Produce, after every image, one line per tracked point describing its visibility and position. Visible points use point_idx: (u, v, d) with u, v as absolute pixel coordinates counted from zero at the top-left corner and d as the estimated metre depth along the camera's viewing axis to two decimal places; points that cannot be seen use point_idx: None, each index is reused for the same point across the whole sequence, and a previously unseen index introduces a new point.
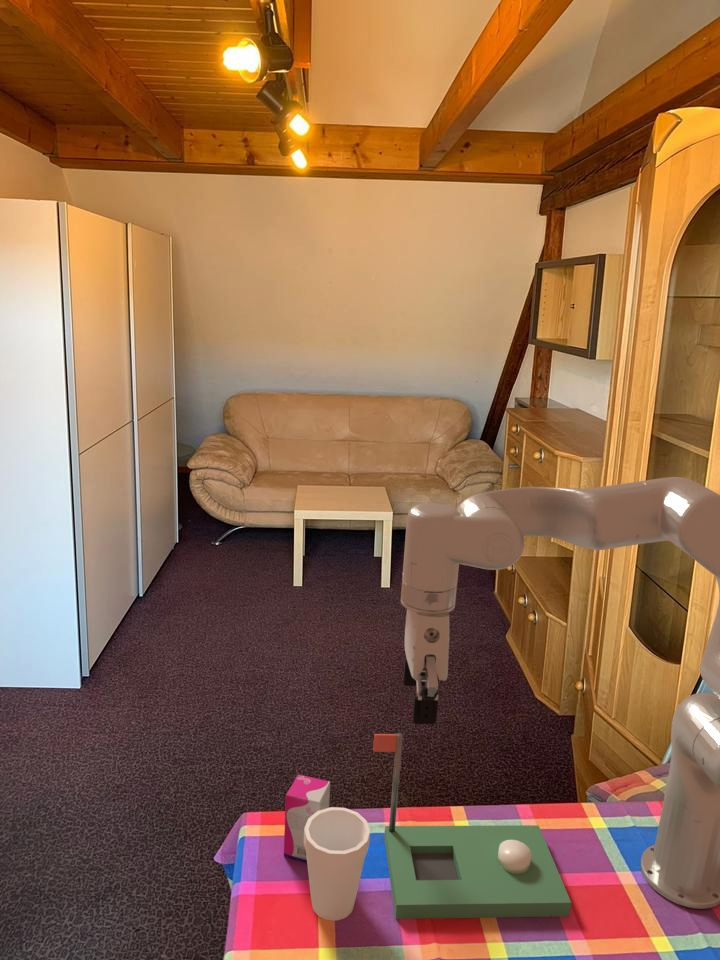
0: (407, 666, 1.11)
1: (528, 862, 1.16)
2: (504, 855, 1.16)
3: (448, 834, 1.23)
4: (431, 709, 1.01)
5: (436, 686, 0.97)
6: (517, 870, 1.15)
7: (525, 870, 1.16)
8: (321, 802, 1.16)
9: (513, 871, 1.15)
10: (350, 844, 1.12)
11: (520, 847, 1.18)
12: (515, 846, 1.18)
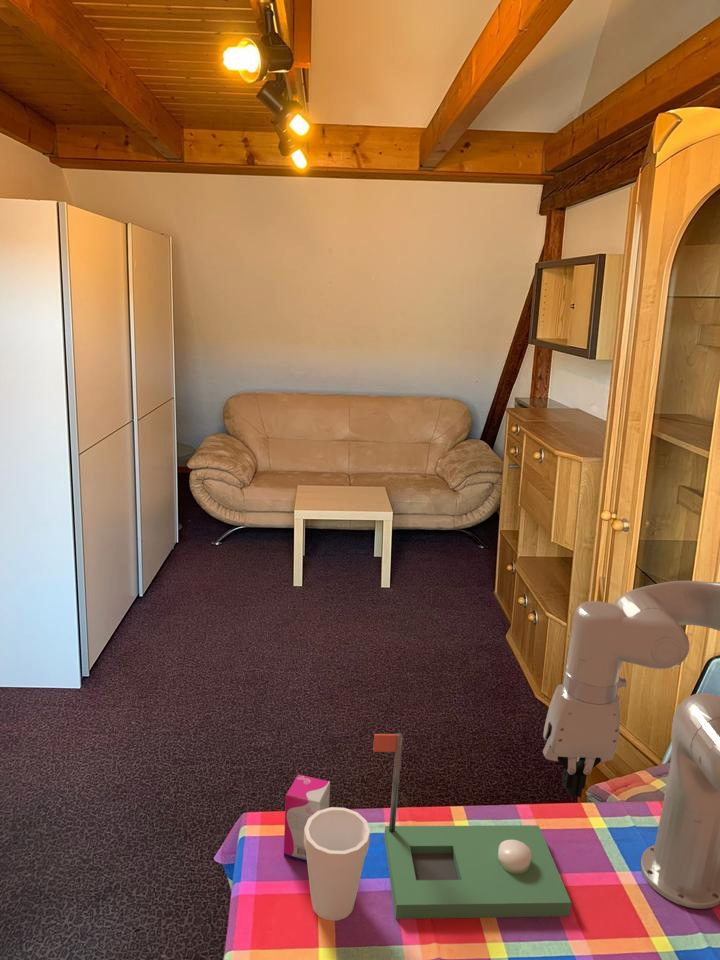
0: (577, 778, 1.13)
1: (528, 861, 1.16)
2: (505, 855, 1.16)
3: (448, 834, 1.23)
4: None
5: None
6: (518, 870, 1.15)
7: (525, 869, 1.16)
8: (321, 802, 1.16)
9: (514, 871, 1.15)
10: (350, 844, 1.12)
11: (520, 847, 1.18)
12: (515, 846, 1.18)
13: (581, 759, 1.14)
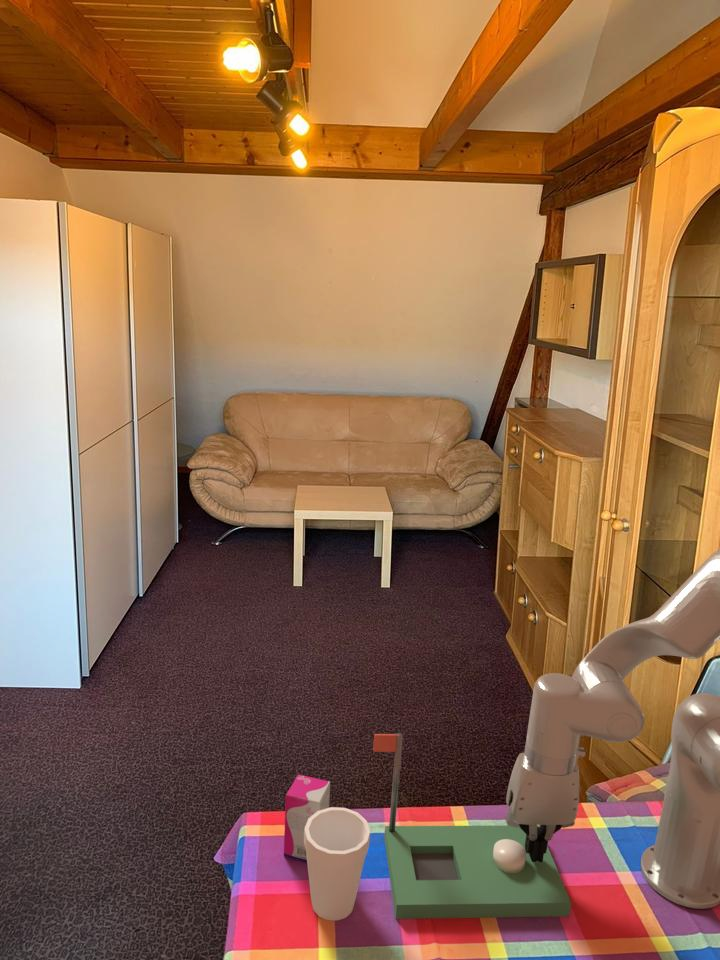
0: (539, 843, 1.16)
1: (523, 861, 1.16)
2: (500, 855, 1.16)
3: (448, 834, 1.23)
4: None
5: None
6: (513, 870, 1.15)
7: (520, 869, 1.16)
8: (321, 802, 1.16)
9: (509, 871, 1.15)
10: (350, 844, 1.12)
11: (515, 846, 1.18)
12: (510, 845, 1.18)
13: (543, 825, 1.17)
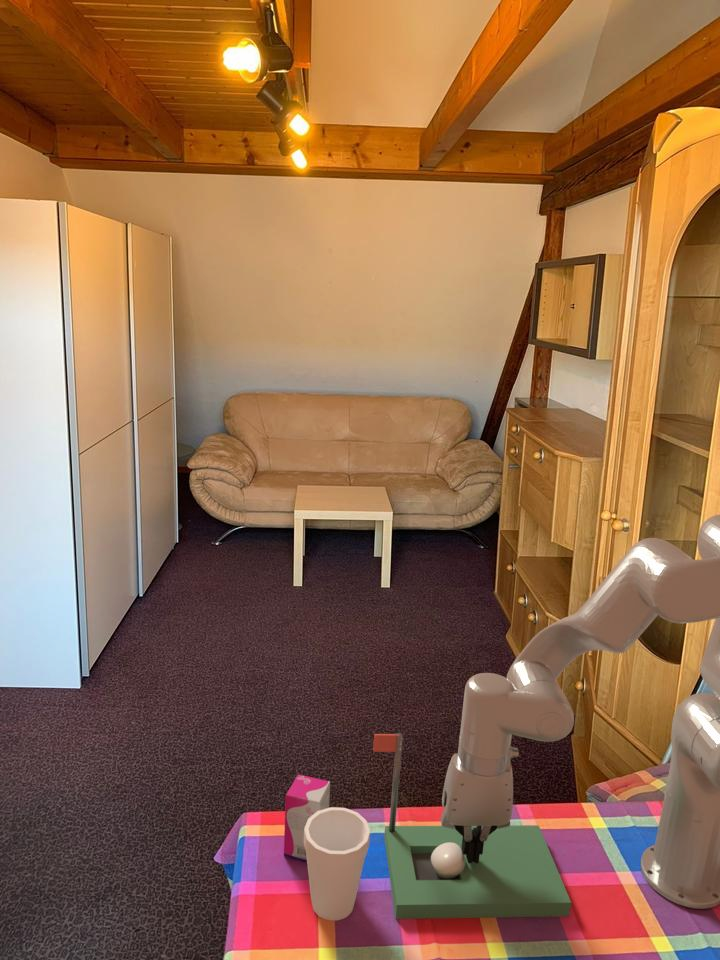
0: (474, 844, 1.15)
1: (460, 861, 1.15)
2: (436, 864, 1.16)
3: (448, 834, 1.23)
4: None
5: None
6: (452, 874, 1.14)
7: (460, 870, 1.15)
8: (321, 802, 1.16)
9: (449, 876, 1.15)
10: (350, 844, 1.12)
11: (451, 848, 1.17)
12: (446, 849, 1.17)
13: (479, 825, 1.16)
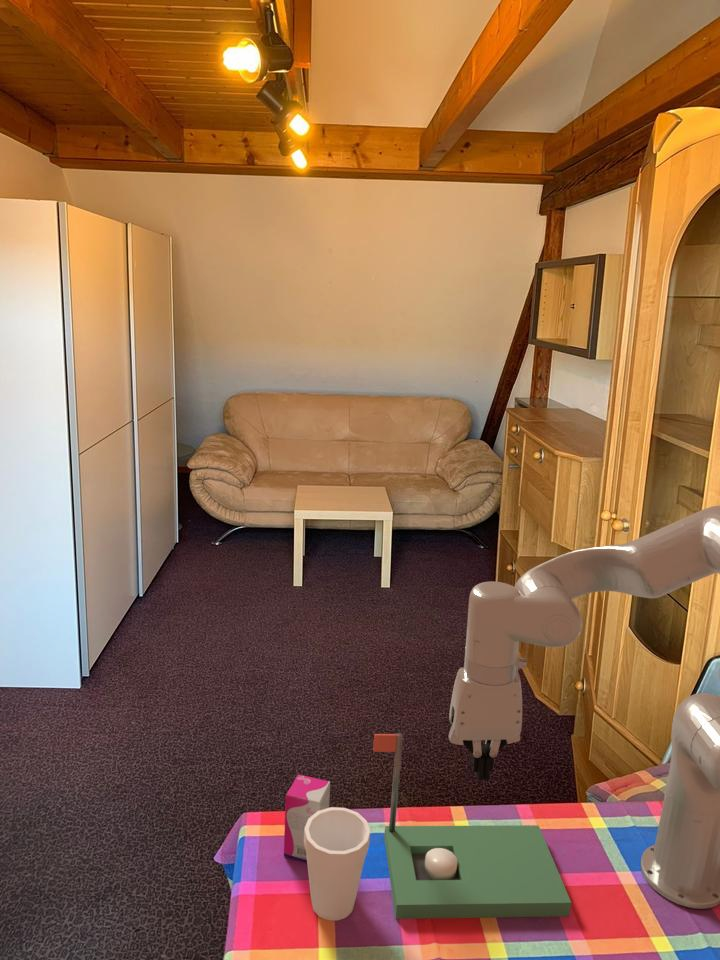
0: None
1: (454, 870, 1.15)
2: (431, 864, 1.16)
3: (448, 834, 1.23)
4: None
5: None
6: (443, 879, 1.15)
7: (451, 878, 1.15)
8: (321, 802, 1.16)
9: None
10: (350, 844, 1.12)
11: (446, 855, 1.18)
12: (441, 854, 1.18)
13: (488, 742, 1.13)
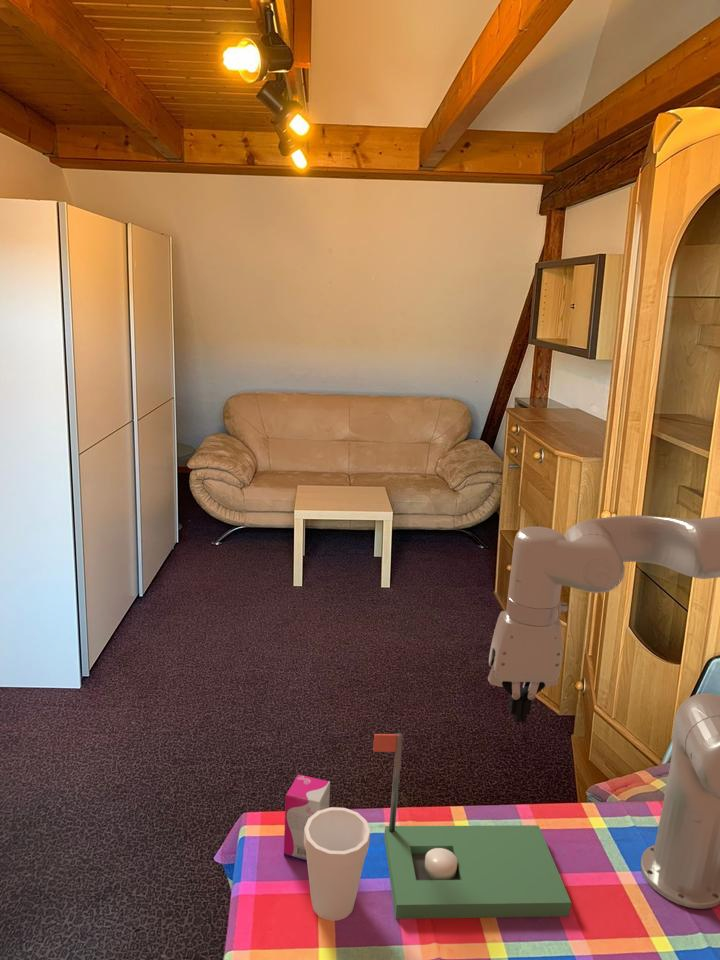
0: (522, 703, 1.14)
1: (454, 870, 1.15)
2: (430, 864, 1.16)
3: (448, 834, 1.23)
4: None
5: None
6: (443, 879, 1.15)
7: (451, 878, 1.15)
8: (321, 802, 1.16)
9: None
10: (350, 844, 1.12)
11: (446, 855, 1.18)
12: (441, 854, 1.18)
13: (526, 685, 1.16)
